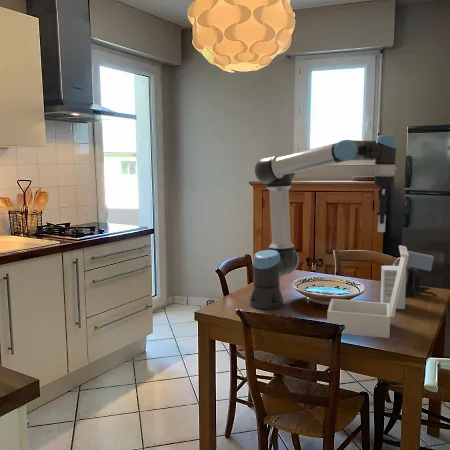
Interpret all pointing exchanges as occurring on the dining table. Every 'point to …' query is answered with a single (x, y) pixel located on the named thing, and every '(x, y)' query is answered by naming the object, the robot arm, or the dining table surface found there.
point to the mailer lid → (406, 260)
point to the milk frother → (411, 274)
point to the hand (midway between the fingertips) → (381, 229)
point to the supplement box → (391, 286)
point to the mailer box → (360, 317)
